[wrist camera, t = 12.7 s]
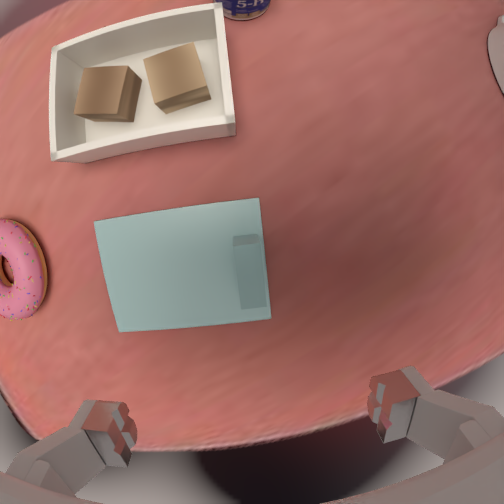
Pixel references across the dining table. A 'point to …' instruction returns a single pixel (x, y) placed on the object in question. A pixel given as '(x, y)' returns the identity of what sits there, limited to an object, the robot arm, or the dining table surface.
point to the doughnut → (21, 271)
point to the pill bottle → (243, 8)
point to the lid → (186, 266)
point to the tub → (147, 113)
